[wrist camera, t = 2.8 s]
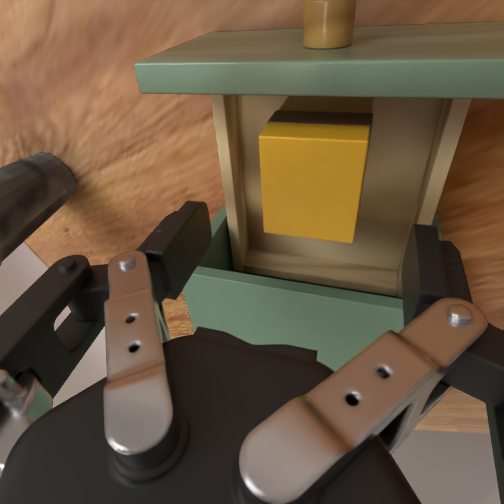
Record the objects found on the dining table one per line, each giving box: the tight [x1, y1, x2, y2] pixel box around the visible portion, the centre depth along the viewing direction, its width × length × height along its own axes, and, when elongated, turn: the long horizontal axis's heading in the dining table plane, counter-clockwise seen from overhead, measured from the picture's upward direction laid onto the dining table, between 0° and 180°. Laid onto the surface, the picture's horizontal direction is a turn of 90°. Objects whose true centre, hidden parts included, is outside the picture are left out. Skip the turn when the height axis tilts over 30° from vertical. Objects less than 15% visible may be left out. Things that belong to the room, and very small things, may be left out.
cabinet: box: [183, 203, 443, 371], centre depth 27 cm, size 16×15×10 cm
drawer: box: [134, 0, 504, 297], centre depth 20 cm, size 17×15×8 cm
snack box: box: [259, 96, 374, 244], centre depth 18 cm, size 5×4×7 cm
